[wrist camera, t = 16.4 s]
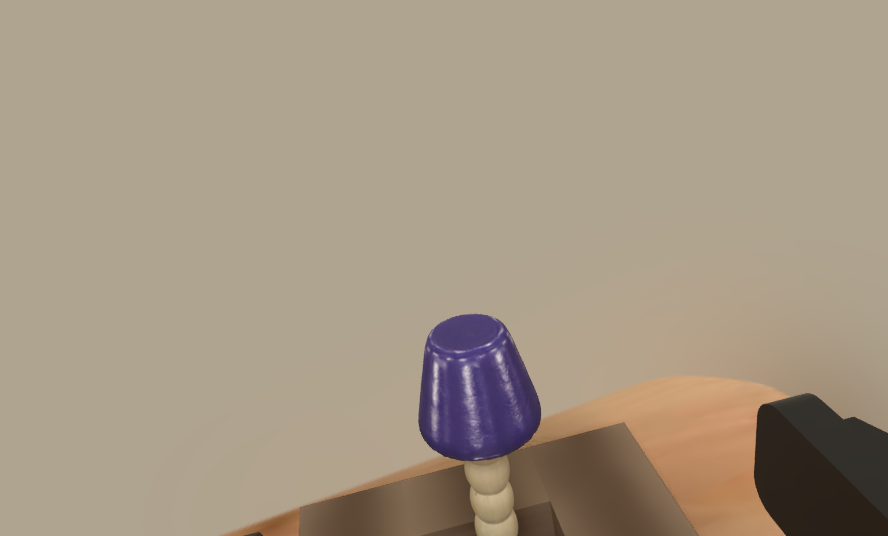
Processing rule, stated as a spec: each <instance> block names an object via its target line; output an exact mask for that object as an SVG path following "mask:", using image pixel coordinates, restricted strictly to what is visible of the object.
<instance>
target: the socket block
mask: <svg viewBox="0 0 888 536" xmlns="http://www.w3.org/2000/svg"><path fill="white" fill-rule="evenodd" d="M506 456H507V458H508V461H509V465H510V475H509V480H508V481H509V483H510V484H511V487H512V490H513V494H514V506H513V510H514V512H515V514H516V517H517V520H518V535H517V536H699V535H698V534H697V532H696V531H695V529H694V527H693V526H692V524H691V523H690V521H689V520H688V518H687V517H686V515H685V514H684V512H683V511H682V509H681V508H680V506H679V505H678V503H677V502H676V500H675V499H674V497H673V496H672V494H671V493H670V491H669V490H668V488H667V487H666V485H665V484H664V482H663V481H662V479H661V478H660V476H659V474H658V473H657V471H656V470H655V468H654V467H653V465H652V464H651V462H650V461H649V459H648V458H647V456H646V455H645V453H644V452H643V450H642V449H641V447H640V446H639V444H638V443H637V441H636V440H635V438H634V437H633V435H632V434H631V432H630V431H629V429H628V428H627V426H626V425H625V423H620V424H616V425H612V426H608V427H604V428H601V429H597V430H593V431H589V432H585V433H582V434H578V435H574V436H570V437H566V438H563V439H559V440H555V441H551V442H547V443H543V444H540V445H536V446H532V447H528V448H524V449H521V450H517V451H513V452H511V453H510V454H507V455H506ZM470 488H471V485H470V484H469V482H468V480H467V478H466V475H465V470H464V464H463V465H460V466H456V467H452V468H448V469H444V470H441V471H437V472H433V473H429V474H425V475H421V476H418V477H414V478H410V479H406V480H402V481H399V482H395V483H391V484H387V485H383V486H380V487H376V488H372V489H368V490H364V491H360V492H357V493H353V494H349V495H345V496H341V497H338V498H334V499H330V500H326V501H322V502H319V503H315V504H311V505H307V506H303V507H300V524H299V536H477V534H476V530H475V515H476V514H475V512H474V510H473V508H472V505H471V502H470Z"/></svg>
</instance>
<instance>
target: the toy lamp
mask: <svg viewBox="0 0 888 536" xmlns="http://www.w3.org/2000/svg"><path fill="white" fill-rule="evenodd" d="M540 420H541V407H540V402H539V399H538V396H537V393H536V391H535V389H534V386H533V384H532V381H531V379H530V377H529V375H528V372H527V370H526V367H525V365H524V363H523V361H522V359H521V357H520V355H519V352H518V350H517V348H516V345H515V343H514V341H513V339H512V337H511V335H510V333H509V331H508V330H507V328H506V327H505V325H504V324H503V323H502V322H501V321H499V320H498V319H496V318H494V317H491V316H488V315H481V314H467V315H460V316H456V317H452V318H450V319H447V320H445V321H443V322H441V323H440V324H439V325H437V326H436V327H435V328H434V329H433V330H432V331H431V332H430V334H429V336H428V338H427V342H426V345H425V351H424V361H423V372H422V381H421V392H420V405H419V427H420V432H421V434H422V437H423V439H424V440H425V441H426V442H427V444H428V445H429V446H430V447H431V448H432V449H433V450H435V451H437V452H438V453H440V454H442V455H443V456H445V457H449V458H452V459H457V460H460V461H465V463H464V470H465V475H466V478H467V480H468V482H469V484H470V485H471V488H470V502H471V505H472V508H473V510H474V512H475V514H476V515H475V530H476V534H477V536H517V535H518V520H517V517H516V514H515V512H514V510H513V506H514V494H513V490H512V487H511V484H510V483H509V481H508V480H509V475H510V465H509V461H508V458H507V456H506V455H507V454H510V453H511V452H513V451H515V450H517V449H518V448H520V447H521V446H523V445H524V444H525V443H527V442H528V441H529V440H530V439H531V438H532V436H533V434H534V433H535V432H536V431H537V429H538V427H539V425H540Z"/></svg>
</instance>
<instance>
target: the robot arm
mask: <svg viewBox="0 0 888 536" xmlns="http://www.w3.org/2000/svg"><path fill="white" fill-rule="evenodd" d="M754 479H755V485H756V488H757V492H758V494H759V497H760V499H761V501H762V503H763V505H764V507H765V509H766V510H767V512H768V513H769V515H770V516H771V517H772V519H773V520H774V521H775V522H776V524H777V525H778V526H779V527H780V529H781V530H782V531H783V532H784V534H785V535H786V536H888V433H887V432H884V431H882V430H880V429H878V428H876V427H874V426H872V425H870V424H867V423H866V422H864V421H862V420H859V419H857V418H855V417H851V418H847V419H844V420H843V419H842V418H841V417H840V416H839V415H837V414H836V413H835V412H834V411H833V410H832V409H831V408H830V407H828V406H827V405H826V404H825V403H824V402H823V401H822V400H820V399H819V398H818V397H817V396H815V395H813V394H809V393H806V394H802V395H798V396H794V397H790V398H786V399H782V400H778V401H775V402H771V403H767V404H763V405H762V406H760V408H759V410H758V414H757V429H756V447H755V466H754ZM245 536H263V535H262V534H261V533H260V532H257V533H253V534H249V535H245Z"/></svg>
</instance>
